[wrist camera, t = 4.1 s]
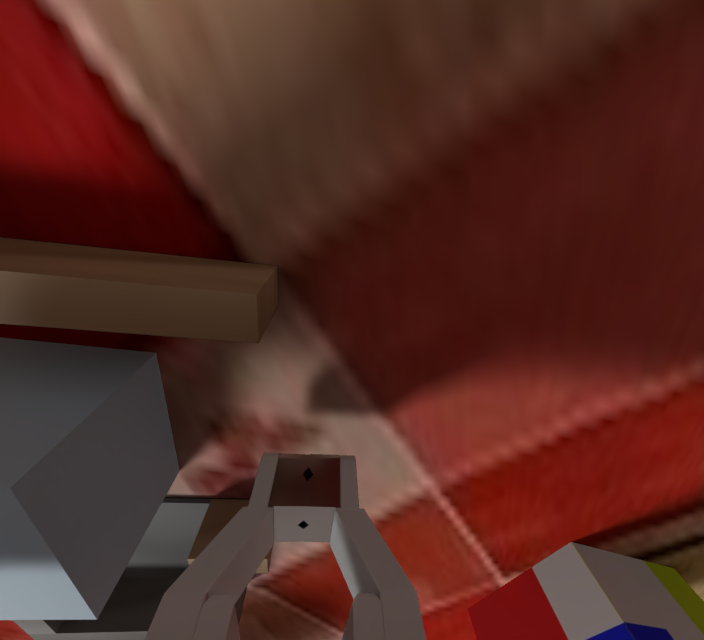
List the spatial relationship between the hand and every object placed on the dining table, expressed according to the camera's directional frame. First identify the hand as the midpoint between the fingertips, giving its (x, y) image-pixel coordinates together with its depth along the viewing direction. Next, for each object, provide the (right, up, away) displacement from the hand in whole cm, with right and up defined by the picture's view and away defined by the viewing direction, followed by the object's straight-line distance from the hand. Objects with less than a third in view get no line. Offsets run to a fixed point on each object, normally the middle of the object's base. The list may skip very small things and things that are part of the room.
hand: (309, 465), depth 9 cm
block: (-8, +2, +1) cm, 9 cm away
